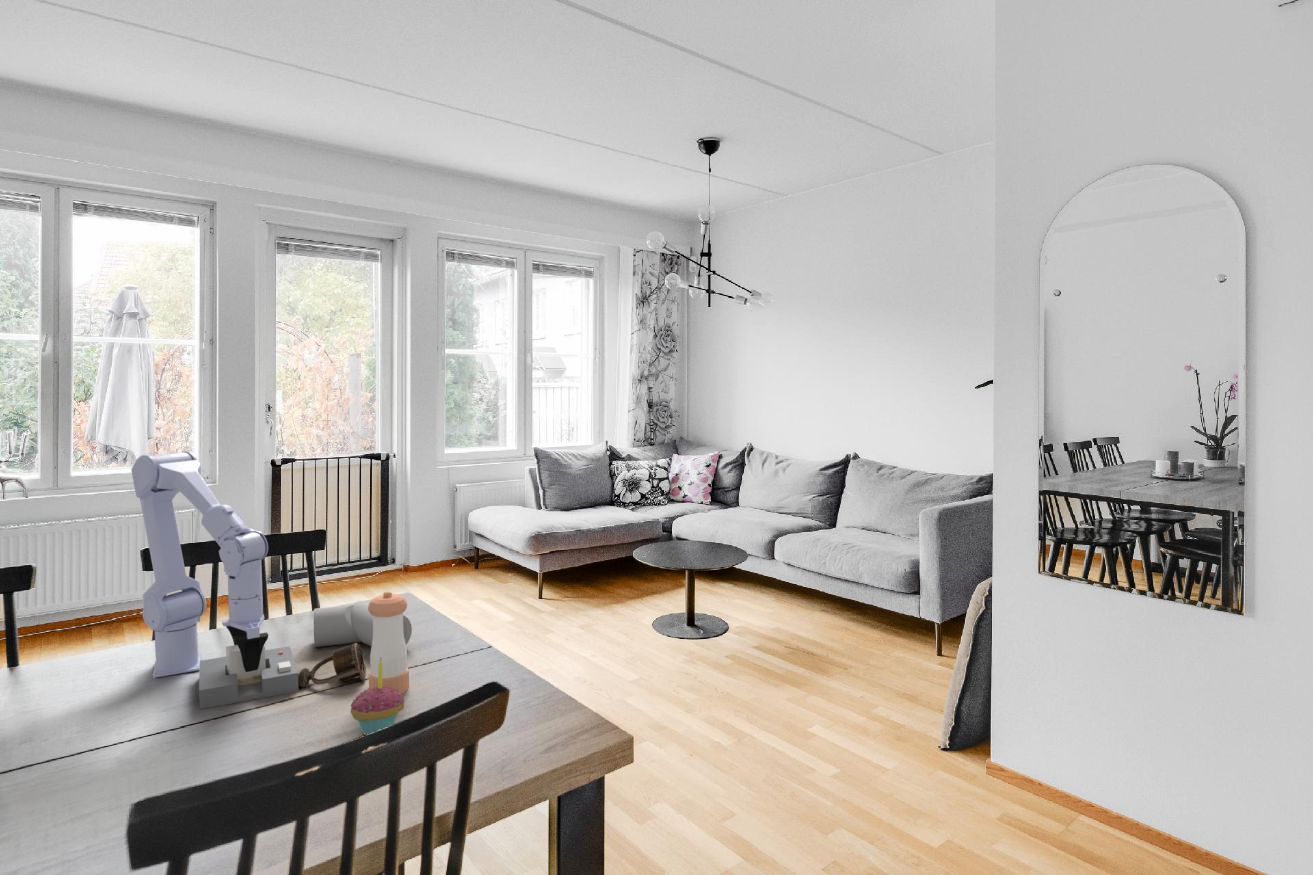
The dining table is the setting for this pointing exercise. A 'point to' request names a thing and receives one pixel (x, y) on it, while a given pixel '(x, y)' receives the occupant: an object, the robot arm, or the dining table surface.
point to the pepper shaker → (389, 642)
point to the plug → (241, 664)
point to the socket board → (247, 680)
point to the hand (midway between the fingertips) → (247, 664)
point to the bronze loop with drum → (338, 666)
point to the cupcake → (377, 706)
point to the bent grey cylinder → (348, 625)
